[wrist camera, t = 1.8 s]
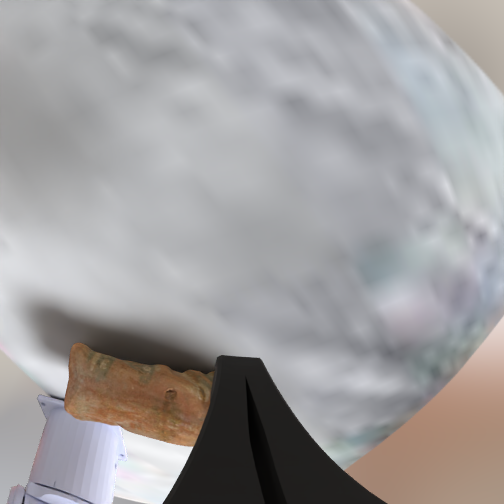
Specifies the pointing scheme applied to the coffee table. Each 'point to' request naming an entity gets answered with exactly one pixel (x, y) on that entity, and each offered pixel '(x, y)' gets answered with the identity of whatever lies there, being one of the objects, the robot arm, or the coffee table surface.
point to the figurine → (137, 396)
